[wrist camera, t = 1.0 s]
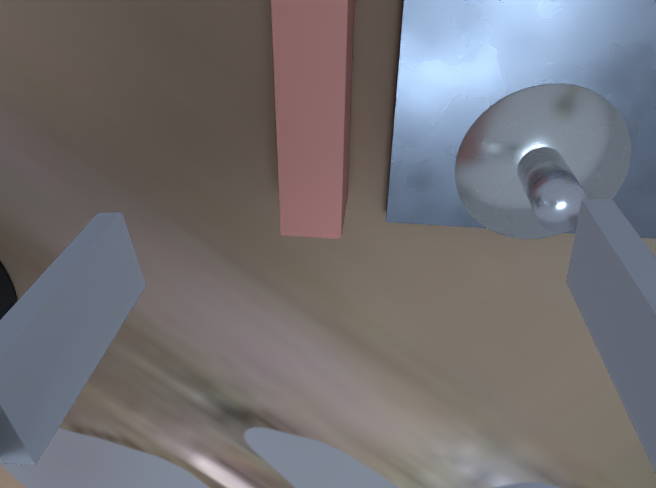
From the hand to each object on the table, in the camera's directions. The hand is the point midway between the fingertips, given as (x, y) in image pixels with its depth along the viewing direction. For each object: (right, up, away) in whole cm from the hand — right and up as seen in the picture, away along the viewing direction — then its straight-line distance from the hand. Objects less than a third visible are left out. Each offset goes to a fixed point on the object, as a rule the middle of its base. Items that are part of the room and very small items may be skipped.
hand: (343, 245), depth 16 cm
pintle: (+11, +4, +13) cm, 18 cm away
